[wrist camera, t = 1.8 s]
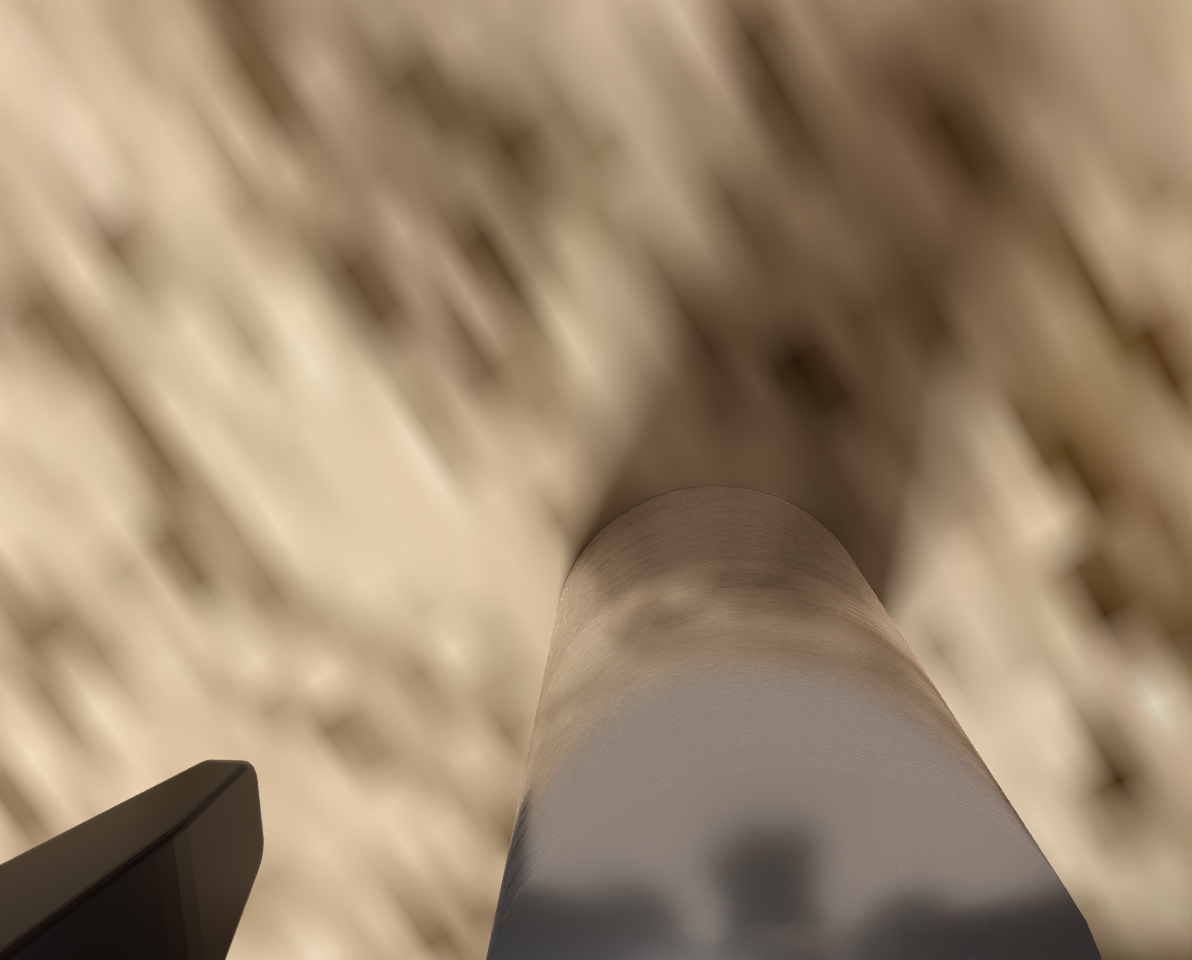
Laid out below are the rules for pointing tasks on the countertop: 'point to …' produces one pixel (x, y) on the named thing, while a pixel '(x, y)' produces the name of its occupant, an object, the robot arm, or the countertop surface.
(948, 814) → the grey peg
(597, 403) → the countertop surface
